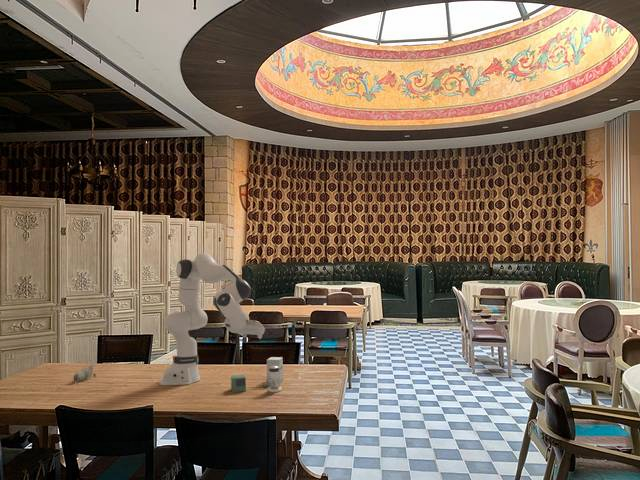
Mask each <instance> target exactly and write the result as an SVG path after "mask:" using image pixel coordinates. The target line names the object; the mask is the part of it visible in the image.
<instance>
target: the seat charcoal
mask: <svg viewBox="0 0 640 480" xmlns="http://www.w3.org/2000/svg"><path fill="white" fill-rule="evenodd" d="M269 387H270V382H267V381H266V382H264V383H263V388H267V389H268V388H269Z"/></svg>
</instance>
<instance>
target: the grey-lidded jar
mask: <svg viewBox="0 0 640 480" xmlns="http://www.w3.org/2000/svg"><path fill="white" fill-rule="evenodd" d="M269 376H270V389H279V387H280V383H279V366H276V365H275V366H270V367H269Z"/></svg>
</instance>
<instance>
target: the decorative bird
mask: <svg viewBox="0 0 640 480" xmlns="http://www.w3.org/2000/svg"><path fill="white" fill-rule="evenodd" d="M94 366H95V364H93V363H92V364H91V365H89V366H87V367H86V368H83V369H80V371H77V372H76V373H74V375H73V382H77V383H78V382H80V380H83V381H86V380H87V379H88V378H89V377H90V378H91V377H92V375H93V377H97V376H96V375H97V374H96V373H93V372H94V371H93V370H94ZM85 379H86V380H85Z"/></svg>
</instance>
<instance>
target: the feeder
mask: <svg viewBox="0 0 640 480" xmlns="http://www.w3.org/2000/svg"><path fill="white" fill-rule="evenodd" d="M246 382H247V381H246V375H245V374H236V375H230V386H231V387H230V389H231V393H236V392H237V393H238V392H246V390H247V388H246Z"/></svg>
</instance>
